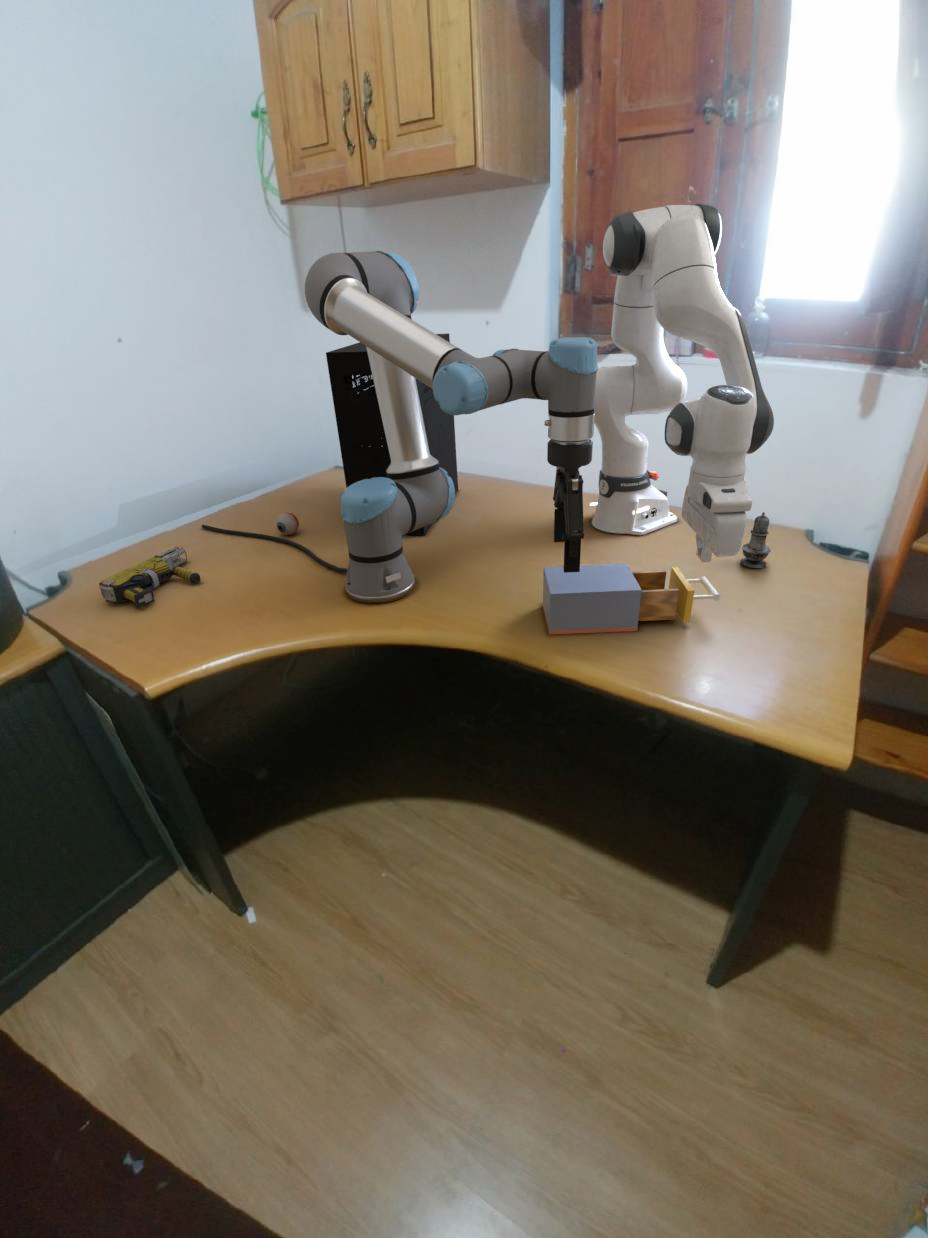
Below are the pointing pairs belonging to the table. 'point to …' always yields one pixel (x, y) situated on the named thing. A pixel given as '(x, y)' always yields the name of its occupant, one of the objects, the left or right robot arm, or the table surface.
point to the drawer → (669, 595)
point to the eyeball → (287, 523)
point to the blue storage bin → (591, 599)
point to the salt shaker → (757, 544)
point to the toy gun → (146, 578)
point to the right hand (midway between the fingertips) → (703, 559)
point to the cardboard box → (380, 420)
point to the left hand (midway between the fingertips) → (565, 555)
